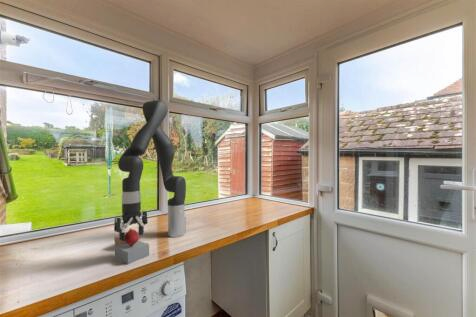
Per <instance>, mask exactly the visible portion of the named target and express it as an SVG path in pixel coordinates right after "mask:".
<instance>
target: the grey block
mask: <svg viewBox="0 0 476 317" xmlns="http://www.w3.org/2000/svg"><path fill="white" fill-rule="evenodd" d="M148 256H150V244H149V243H147V242H143V241H141V240H138V241H137V242H136V243H135V244H134V245H133V246H130V245H129V244H127V243H125V244H123V245H120V246H117V247H115V246H114V259H115V260H116V261H120V262H121V263H124V264H126V265H130V264H132V263H134V262H137V261H139V260H141V259H143V258H146V257H148Z"/></svg>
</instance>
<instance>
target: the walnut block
mask: <svg viewBox="0 0 476 317" xmlns="http://www.w3.org/2000/svg"><path fill="white" fill-rule="evenodd" d="M124 232H125V231H124ZM127 232H128V231H126V232H125V234H126V233H127ZM125 243H126V242H125V241H121V240H120V239H119V234H118V235H115V236H114V248H115V247H117V246H120V245H123V244H125Z"/></svg>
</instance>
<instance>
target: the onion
mask: <svg viewBox="0 0 476 317" xmlns="http://www.w3.org/2000/svg"><path fill="white" fill-rule="evenodd" d="M126 232H127V233H126V234H125V242H126V243H127V244H129V245H130V246H133V245H134V244H135V243H136V242H137V241H139V238H140V235H139V232H138V231H136V230H135V229H133V228H132V227H129V230H127V231H126Z"/></svg>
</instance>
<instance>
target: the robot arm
mask: <svg viewBox="0 0 476 317" xmlns="http://www.w3.org/2000/svg"><path fill="white" fill-rule="evenodd" d="M168 110H169V109H168V105H167V103H166V102H165V101H163V100H161V99H157V100H149V101H146V102H144V103H143V104H142V114H143V117H144V119H145V122H146V123H145V124H144V125H143V126H142V127H141V128H140V129H139V130H138V131H137V132H136V134H135V135H134V137H133V139H132V141H131V143H130V146H129V147H128V148H127V149H126V150H125V151H124V152H123V154H121V156H120V157H119V160H118V163H117V166H118V169H119V170H120V171H121V172H124V173H128V175H127V176H128V177H125V178H123V180H122V182H121V184H122V187H121V189H122V191H121V192H122V194H121V213H122V216H120V217H117V216H116V217H115V218H114V226H113V227H114V229H113V230H114V232H116V233H118V235H119V239H120V240H121V241H125V231H126V230H127V228H128V227H129V226H131V225H134V224H137V226H138V235H139V236H143V234H144V231H145V228H144V226H145V225H147V224H148V212H147V211H146V210H142V207H141V206H142V205H141V204H142V203H141V202H142V200H141V196H142V195H141V187H140V186H141V185H140V184H141V182H140V181H141V178H142V174H143V172H144V171H143V170H144V161H143V159H142V158H141V156H142V155H144V154H145V153H146V152H147V150H148V147H149V144H150V143H151V140H152V141H153V142H152V143H153V146H154V148H155V152H156V153H155V154H156V157H157V159H158V164H159V167H160V170H161V177H162V183H163V186H164V189H165V190H166V191H167V192H168V193H173V197H171V198H168V200H167V236H168V237H170V238H179V237H183V236H184V235H185V234H186V233H187V217H186V216H185V200H186V196H187V195H186V190H187V184H186V183H187V182H186V179H185V177H184V176H179V175H174V173H173V168H172V166H173V162H174V158H175V149H174V144H173V141H172V139H171V138H170V137H169V136H168V134H167V133H166V132H165V131H164V130H163V128H162V126H161V124H162V122H163V121H164V120H165V118H166V117H167V115H168ZM141 210H142V211H141Z"/></svg>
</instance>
